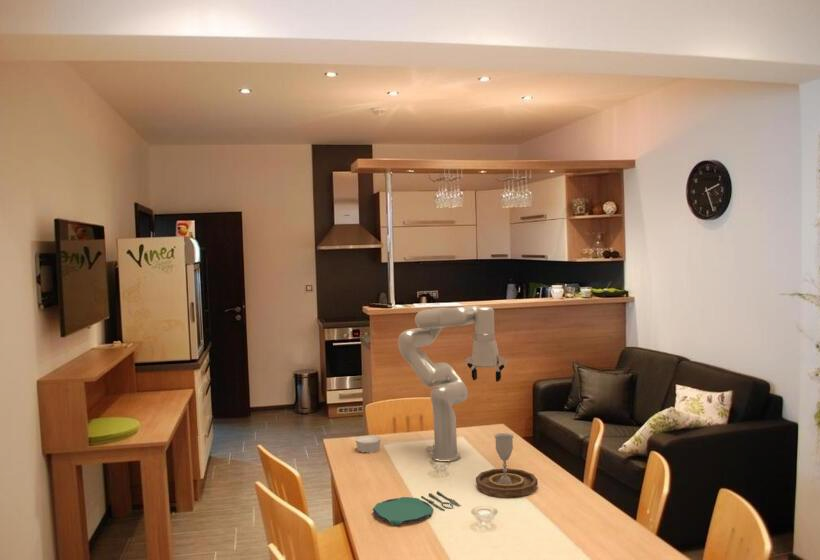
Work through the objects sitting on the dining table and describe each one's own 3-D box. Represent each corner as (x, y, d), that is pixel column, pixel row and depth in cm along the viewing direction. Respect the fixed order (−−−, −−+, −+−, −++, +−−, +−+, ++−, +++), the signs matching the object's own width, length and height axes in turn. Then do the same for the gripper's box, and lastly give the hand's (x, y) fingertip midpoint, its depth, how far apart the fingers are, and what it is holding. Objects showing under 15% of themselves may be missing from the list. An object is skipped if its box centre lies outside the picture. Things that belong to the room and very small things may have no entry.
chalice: (514, 479, 241) (513, 432, 241) (515, 486, 235) (514, 438, 234) (495, 479, 242) (493, 433, 241) (495, 486, 235) (494, 438, 235)
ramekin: (352, 448, 291) (352, 437, 291) (375, 445, 295) (375, 433, 295) (361, 455, 281) (360, 443, 280) (384, 451, 285) (384, 440, 285)
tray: (468, 493, 233) (468, 485, 233) (488, 473, 253) (487, 465, 253) (527, 501, 223) (527, 493, 223) (543, 480, 243) (542, 472, 243)
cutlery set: (363, 511, 221) (363, 504, 221) (436, 493, 236) (436, 487, 236) (391, 532, 204) (391, 525, 204) (468, 511, 219) (468, 505, 219)
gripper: (461, 338, 255) (462, 381, 256) (503, 339, 247) (504, 383, 248) (468, 335, 262) (469, 377, 262) (508, 337, 254) (510, 379, 255)
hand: (486, 380), depth 255 cm, fingers open, 9 cm apart
